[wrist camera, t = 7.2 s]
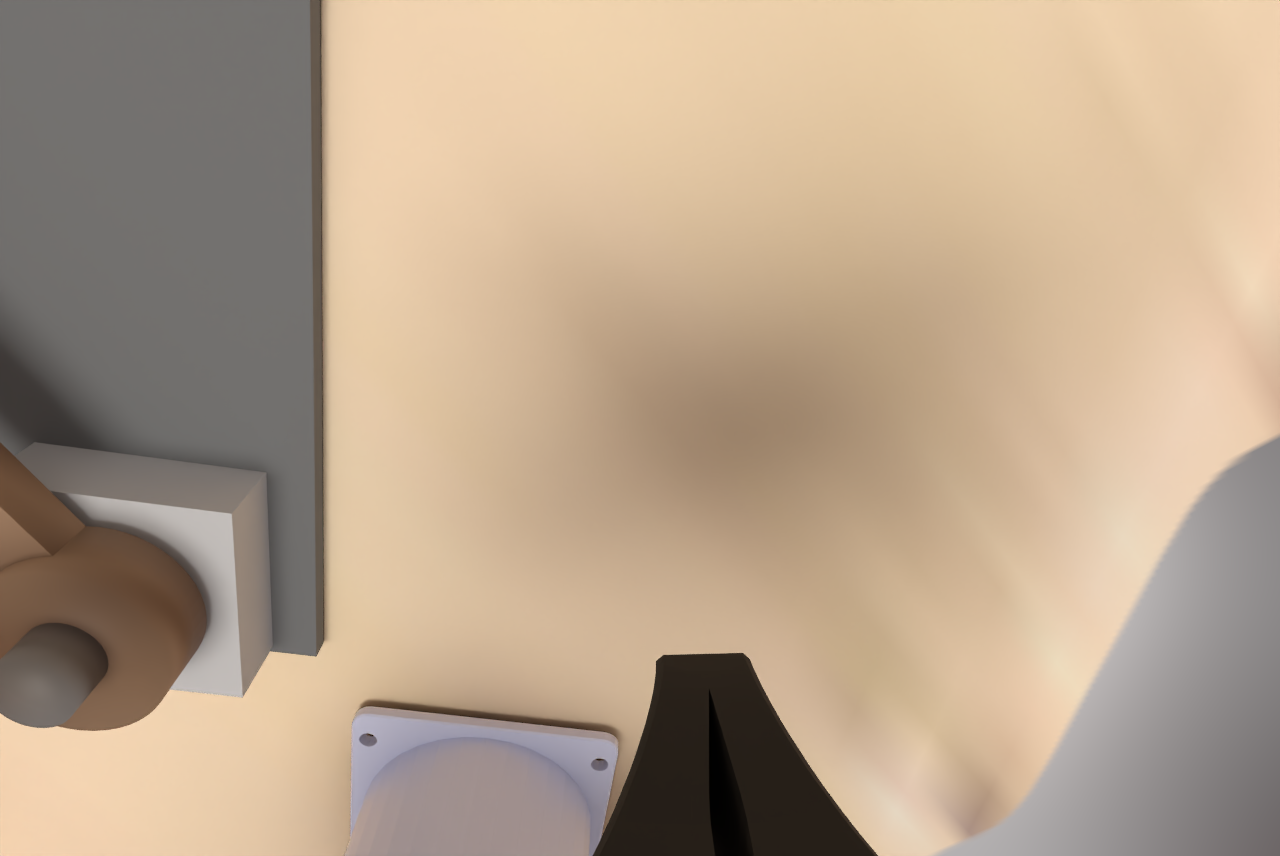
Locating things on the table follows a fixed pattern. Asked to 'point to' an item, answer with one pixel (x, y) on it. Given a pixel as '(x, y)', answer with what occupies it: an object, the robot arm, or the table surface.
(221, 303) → the plate
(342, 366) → the table surface
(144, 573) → the lever
